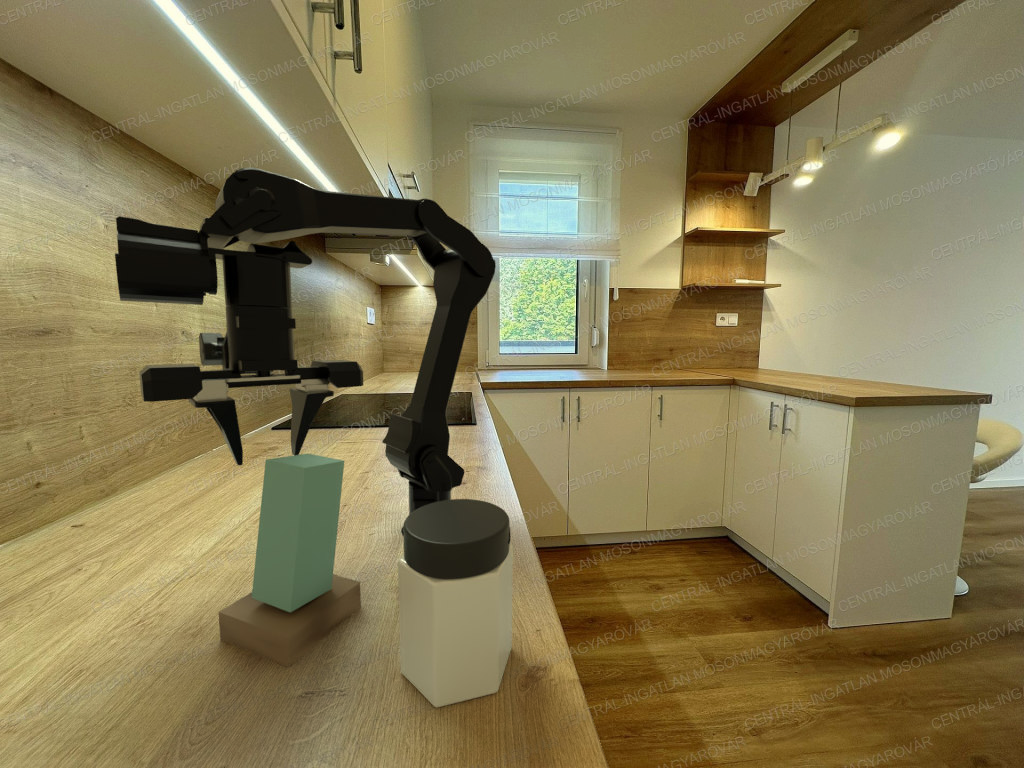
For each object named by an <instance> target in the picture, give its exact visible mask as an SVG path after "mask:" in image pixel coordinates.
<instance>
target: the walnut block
mask: <svg viewBox="0 0 1024 768" xmlns="http://www.w3.org/2000/svg"><path fill="white" fill-rule="evenodd" d="M361 595H362V594H361V582H360V581H358V580H354V579H352V578H347V577H344V576H342V575H341V576H340V575H337V574H334V573H333V579H332V589H331V590H329V591H327V592H326V593H324V594H322V595H320V596H318V597H317V598H315V599H313V600H311V601H310V602H308V603H306V604H304V605H303V606H301V607H299V608H297V609H295V610H294V611H292V612H288V611H285V610H282V609H280V608H277V607H274V606H272V605H269V604H267V603H264V602H261V601H259V600H256V599H254V598H252V591H251V592H249V593H248V594H246V595H243V596H242V597H241V598H239V599H238V600H235V602H233V603H231V604H229V605H228V606H226V607H224V608H223V609H221V610H220V611H219V610H218V621H219V622H218V626H219V636H220V638H219V639H220V641H223V642H225V643H227V644H229V645H233V646H234V647H237V648H240V649H242V650H245V651H247V652H249V653H252V654H253V655H256V656H259V657H261V658H263V659H265V660H268V661H271V662H273V663H275V664H277V665H280V666H283V667H284V668H287V669H289V668H290V667H292V666H293V665H294V664H295V663H297V661H299V660H300V659H301V658H302V657H304V656H305V655H306V654H307V653H309V651H310V650H312V649H313V648H314V647H315V646H316V645H318V643H320V642H321V641H322V640H323V639H324V638H326V637H327V636H328V635H329V634H331V632H333V631H334V630H335V629H336V628H337V627H339V626H340V625H341V624H342V623H344V621H346V620H347V619H348V618H350V617H351V616H352V615H353V614H354V613H355V612H356V611H358V610H359V609H360V608H361V607H362V601H361V600H362V598H361Z"/></svg>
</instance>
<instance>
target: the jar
mask: <svg viewBox="0 0 1024 768" xmlns="http://www.w3.org/2000/svg"><path fill="white" fill-rule="evenodd" d="M402 527H403V533H404V534H403V533H402V534H403V554H402V555H401V556H400V557H399V558H398V560H397V567H398V568H397V575H398V576H397V577H398V578H397V579H398V614H399V615H398V616H399V617H398V618H399V619H398V620H399V621H398V623H399V657H400V659H399V660H400V661H399V662H400V663H399V665H400V673H401V674H402V676H404V677H405V679H407V680H408V681H409V682H410V683H411V684H412V685H413V686H414V687H415V688H416V690H418V691H419V693H420V694H421V695H422V696H423V697H424V698H426V700H427V701H428V702H429V703H430V704H431V705H432V706H433V707H434V708H441V707H445V706H449V705H452V704H458V703H461V702H464V701H468V700H469V701H470V700H472V699H478V698H481V697H485V696H489V695H492V694H493V695H494V694H496V693H498V691H499V689H500V686H501V683H502V680H503V676H504V672H505V669H506V667H507V663H508V661H509V658H510V654H511V650H512V648H513V647H512V641H513V640H512V639H513V638H512V637H513V636H512V635H513V631H512V630H513V553H514V552H513V551H514V550H513V543H512V542H511V526H510V516H509V515H508V513H507V512H506V511H505V510H504V509H503V508H501V507H500V506H498V505H496V504H494V503H491V502H489V501H484V500H480V499H479V500H478V499H471V498H470V499H469V498H455V499H453V498H451V500H443V501H438V502H434V503H431V504H427V505H425V506H422V507H420V508H418V509H416V510H415V511H413V512H412V513H411V514H410V515H407V517H406V518H405V520H404V522H403V525H402Z"/></svg>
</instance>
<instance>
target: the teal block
mask: <svg viewBox="0 0 1024 768" xmlns="http://www.w3.org/2000/svg"><path fill="white" fill-rule="evenodd" d="M264 464H265V465H264V473H263V482H262V483H263V484H262V492H261V499H260V500H261V502H260V511H259V512H260V513H259V522H258V530H257V531H258V532H257V541H256V549H255V550H256V552H255V559H254V569H253V578H252V579H253V580H252V589H251V592H252V598H254V599H256V600H259V601H261V602H264V603H267V604H269V605H272V606H274V607H277V608H280V609H282V610H285V611H288V612H292V611H294V610H295V609H297V608H299V607H301V606H303V605H304V604H306V603H308V602H310V601H311V600H313V599H315V598H317V597H318V596H320V595H322V594H324V593H326V592H327V591H329V590H331V589H332V579H333V574H334V568H335V558H336V551H337V549H336V547H337V541H338V540H337V538H338V537H337V536H338V531H339V530H338V527H339V518H340V509H341V508H340V507H341V498H342V487H343V480H344V479H343V477H344V468H345V460H343V459H337V458H332V457H328V456H323V455H317V454H312V453H302V454H299V455H288V456H281V457H275V458H268V459H267V458H266V459H265V462H264Z"/></svg>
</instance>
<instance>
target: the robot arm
mask: <svg viewBox="0 0 1024 768" xmlns="http://www.w3.org/2000/svg"><path fill="white" fill-rule="evenodd" d="M115 224H116V240H117V251H118V252H114V258H115V268H116V269H115V271H116V278H117V280H116V281H117V286H118V294H119V300H120V302H136V303H137V302H138V303H154V304H155V303H157V304H159V303H160V304H175V305H176V304H177V305H192V306H193V305H195V306H196V305H197V306H203V304H204V299H205V297H206V296H207V294H208V295H212V296H213V295H214V296H216V295H217V294H218V284H219V283H218V280H219V279H218V267H217V260H222V275H223V289H224V290H223V291H224V302H225V303H224V305H225V319H226V320H225V321H226V322H225V323H226V332H225V336H223V334H222V333H221V332H200V333H199V335H198V343H199V344H198V347H199V348H198V349H199V357H200V363H201V365H202V366H204V367H205V366H207V367H208V366H221V367H222V369H217V370H216V369H215V370H212V369H211V370H201V366H200V365H196V364H193V363H185V364H183V363H178V364H177V363H176V364H147V365H145V366H144V367H143V368H142V369H140V370H139V371H138V372H139V386H140V396H141V398H142V400H143V402H147V403H148V402H153V403H154V402H166V401H169V402H170V401H181V400H182V401H183V400H188V401H187V402H189V404H191V405H192V407H194V408H195V409H196V408H197V409H203V408H205V409H206V411H207V412H208V414H209V415H210V416H211V417H212V419H213V421H214V422H215V423H216V425H217V427H218V429H219V431H220V433H221V435H222V436H223V439H224V441H225V444H226V445H227V447H228V450H229V451H230V454H231V455H232V458H233V460H234V463H235V464H236V465H237V466H242V465H243V464H244V463H243V462H244V461H243V460H244V450H243V449H244V448H243V442H242V438H241V431H240V425H239V420H238V419H239V418H238V412H237V407H236V402H235V401H236V400H235V399H234V398H231V397H230V396H229V395H228V392H229V389H233V388H234V389H235V388H236V389H237V388H238V389H239V388H249V387H251V388H252V387H254V388H255V387H268V386H284V385H295V387H294V388H289V394H290V401H291V421H290V422H291V426H290V447H291V454H292V456H294V455H300V453H301V450H302V448H303V446H304V443H305V441H306V439H307V435H308V434H309V431H310V428H311V427H312V423H313V421H314V419H315V417H316V415H317V413H318V412H319V410H320V408H321V407H322V405H323V403H324V401H325V399H326V398H330V397H331V398H332V397H334V394H335V391H334V390H331V389H330V388H329V386H330V384H331V385H332V386H333V387H334V388H337V389H341V388H354V387H362V386H364V371H363V368H362V366H361V365H360V364H359V362H358V361H357V360H356V361H354V360H346V359H327V360H326V359H322V360H312V361H311V364H310V366H299V365H298V359H296V358H295V343H294V341H295V340H294V330H296V329H297V327H296V326H297V325H296V323H297V322H296V318H293V302H292V300H293V299H292V279H291V269H292V268H293V269H303V268H305V267H309V266H310V265H312V264H313V259H312V257H310V256H309V255H308V254H306V252H304V251H303V250H302V249H301V248H300V247H299V245H297V243H296V242H295V241H294V240H290V241H288V242H287V243H286V244H285V245H284V246H283V247H279V246H274V245H273V246H272V245H264V243H270V242H275V241H276V242H277V241H283V240H287V239H288V240H289V239H292V238H298V237H303V236H307V235H313V234H319V233H327V234H332V233H333V234H334V233H336V234H357V235H358V234H359V235H389V236H408V237H409V239H411V240H412V242H413V243H414V244H415V246H416V248H417V250H418V252H419V254H420V256H421V258H422V259H423V261H424V262H426V264H427V265H428V266H429V267H430V268H431V269H432V270H433V271H434V274H433V280H432V281H433V282H432V286H433V291H434V295H435V300H436V304H435V305H436V306H435V311H434V314H433V318H432V322H431V326H430V330H429V332H428V336H427V340H426V341H427V342H426V345H425V348H424V352H423V355H422V359H421V364H420V367H419V371H418V374H417V378H416V382H415V386H414V389H413V393H412V397H411V400H410V403H409V405H408V406H407V408H406V409H405V410H404V411H403V413H402V414H401V415H398V414H396V413H391V415H390V418H388V419H389V421H388V429H387V432H386V435H385V437H384V438H383V440H382V441H381V442H382V444H384V445H385V450H384V453H385V454H384V455H385V457H386V458H387V461H389V464H390V465H391V466H393V467H394V468H396V470H397V472H398V473H399V476H400V477H401V478H403V479H406V480H408V514H409V515H410V514H411V513H412V512H413V511H415V510H416V509H418V508H420V507H422V506H425V505H427V504H431V503H434V502H438V501H443V500H451V499H452V490H453V489H454V488H458V487H460V486H461V485H462V482H463V478H464V475H465V472H466V471H465V469H464V468H463V467H462V466H461V465H459V464H458V463H457V462H456V461H455V460H454V459H453V458H452V457H451V456H450V455H449V447H450V440H451V439H450V437H451V436H450V429H449V424H448V419H447V409H448V404H449V401H450V397H451V393H452V389H453V385H454V381H455V379H456V374H457V370H458V365H459V363H460V358H461V354H462V350H463V346H464V343H465V339H466V335H467V332H468V326H469V323H470V320H471V316H472V314H473V311H474V310H475V309H476V308H477V306H478V304H479V303H480V302H481V301H482V299H484V298H485V296H486V294H487V293H488V291H489V288H490V287H491V285H492V281H493V279H494V276H495V274H496V260H495V259H494V257H493V254H492V253H491V251H490V249H489V247H487V246H486V245H484V243H482V242H481V241H480V240H479V238H477V237H476V235H475V234H474V233H473V232H472V231H471V230H470V229H469V228H467V227H466V226H464V225H463V224H461V223H460V222H459V221H457V220H455V219H454V218H452V217H451V216H449V215H448V214H447V213H446V212H445V210H444V209H443V208H442V206H440V205H439V204H438V202H436V201H435V200H433V199H429V198H420V199H412V198H400V197H391V196H381V195H373V194H371V195H370V194H361V193H350V192H340V191H338V192H337V191H329V190H323V189H319V188H315V187H313V186H310V185H309V184H306V183H304V182H302V181H301V180H298V179H296V178H293V177H290V176H286V175H283V174H280V173H277V172H272V171H268V170H264V169H261V168H256V167H242V168H239V169H236V170H235V171H234V172H232V173H231V174H230V175H229V176H228V177H227V178H226V179H225V181H224V183H223V185H222V187H221V189H220V191H219V193H218V195H217V197H216V199H215V211H214V212H213V213H212V214H211V216H209V217H204V218H203V220H202V222H201V223H200V225H199V230H198V229H193V228H184V227H179V226H172V225H164V224H158V223H152V222H148V221H144V220H142V219H138V218H133V217H128V216H120V215H118V216H117V217H116V218H115ZM239 242H244V243H250V244H249V245H248V246H247V249H246V250H231V249H227V248H228V247H230V246H232V245H234V244H237V243H239ZM445 247H447V249H446V248H445ZM298 366H299V367H298ZM274 371H284V373H274ZM409 515H408V516H409ZM400 531H401V534H403V535H404V533H403V526H402V527H401V530H400Z"/></svg>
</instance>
